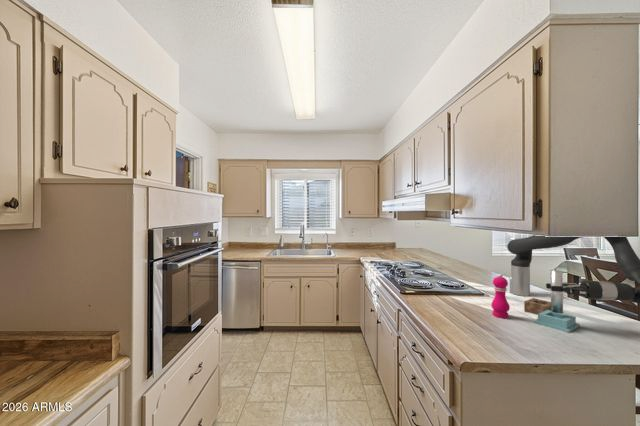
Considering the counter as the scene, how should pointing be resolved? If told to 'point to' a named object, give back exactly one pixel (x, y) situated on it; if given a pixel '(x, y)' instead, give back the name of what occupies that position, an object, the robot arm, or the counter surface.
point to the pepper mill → (500, 297)
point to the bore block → (536, 306)
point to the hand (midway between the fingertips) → (549, 287)
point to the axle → (556, 296)
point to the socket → (557, 321)
